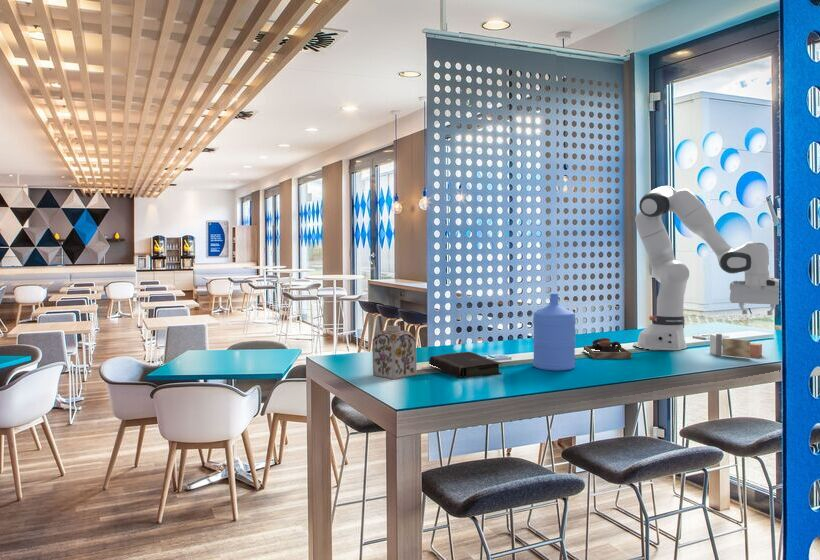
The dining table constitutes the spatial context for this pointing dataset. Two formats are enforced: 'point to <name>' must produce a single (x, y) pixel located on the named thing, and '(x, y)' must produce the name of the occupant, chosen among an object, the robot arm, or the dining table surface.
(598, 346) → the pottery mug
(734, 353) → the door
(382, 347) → the decorative jar
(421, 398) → the dining table surface
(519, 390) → the dining table surface
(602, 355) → the frame
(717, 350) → the light grey slab
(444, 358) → the diary
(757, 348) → the salmon pink block
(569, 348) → the water jug
